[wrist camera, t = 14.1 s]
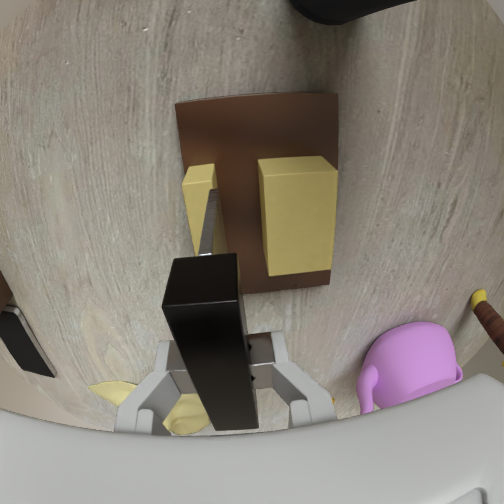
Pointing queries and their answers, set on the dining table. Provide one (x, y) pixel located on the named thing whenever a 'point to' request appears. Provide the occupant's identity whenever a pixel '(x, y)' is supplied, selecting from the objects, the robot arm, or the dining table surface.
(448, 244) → the dining table surface
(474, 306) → the knife
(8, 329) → the smartphone
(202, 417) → the cloth
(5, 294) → the knife stand
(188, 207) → the butter slice
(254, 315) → the dining table surface
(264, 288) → the butter board
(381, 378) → the teapot
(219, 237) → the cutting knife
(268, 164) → the butter block
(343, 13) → the black thermos flask
